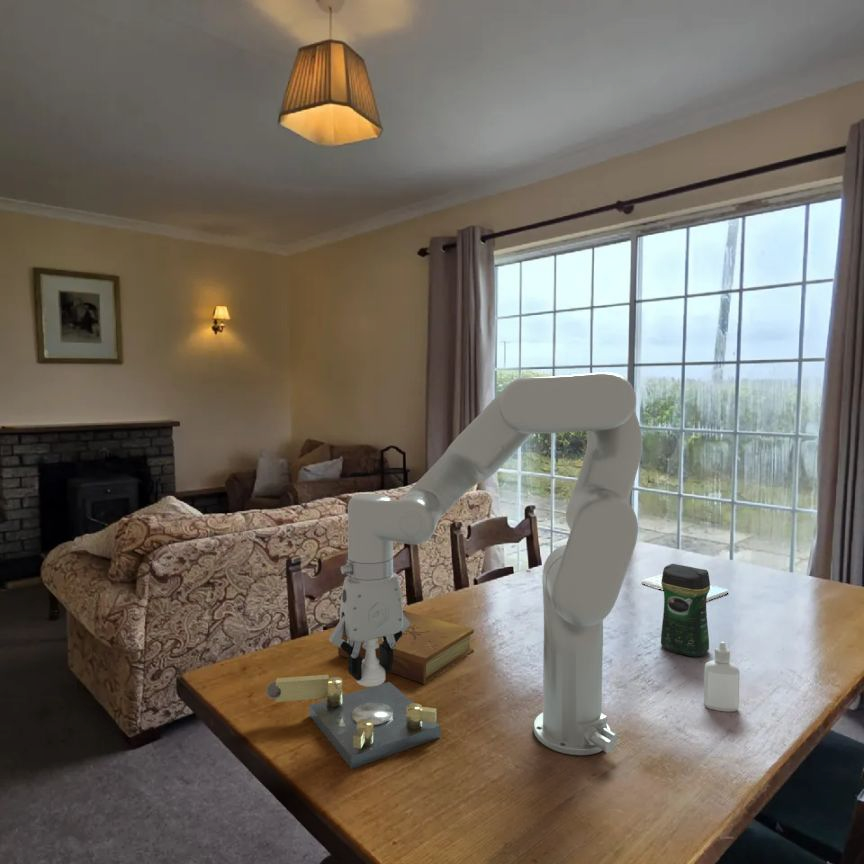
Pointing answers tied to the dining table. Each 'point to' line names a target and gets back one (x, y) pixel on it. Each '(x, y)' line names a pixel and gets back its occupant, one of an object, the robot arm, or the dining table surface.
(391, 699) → the levelling plate
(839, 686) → the dining table surface
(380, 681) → the chess pawn
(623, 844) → the dining table surface
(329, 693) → the brass lever
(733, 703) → the eye dropper bottle
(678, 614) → the coffee jar
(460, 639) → the diary
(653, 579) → the calculator
